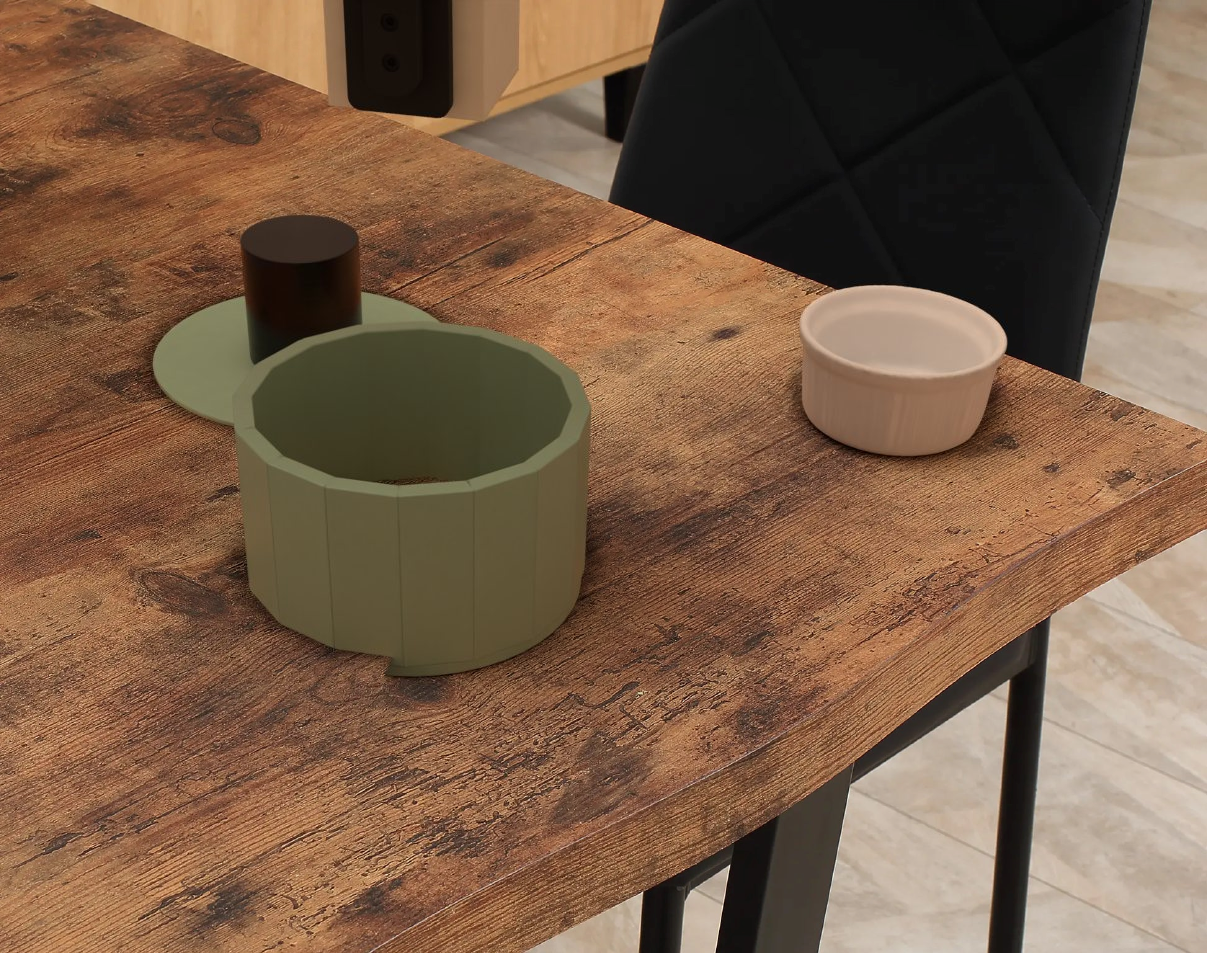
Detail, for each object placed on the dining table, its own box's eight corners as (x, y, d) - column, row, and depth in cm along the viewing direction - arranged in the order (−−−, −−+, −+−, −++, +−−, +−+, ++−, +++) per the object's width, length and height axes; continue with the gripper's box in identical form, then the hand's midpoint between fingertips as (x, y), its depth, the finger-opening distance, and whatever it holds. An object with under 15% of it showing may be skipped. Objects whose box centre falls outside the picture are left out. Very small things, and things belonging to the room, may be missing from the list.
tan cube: (328, 106, 54) (319, -60, 51) (373, 56, 58) (367, -101, 55) (484, 122, 53) (484, -45, 50) (519, 70, 57) (520, -87, 54)
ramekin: (753, 423, 76) (763, 334, 73) (846, 350, 82) (858, 265, 79) (938, 489, 72) (955, 397, 69) (1021, 407, 78) (1040, 320, 75)
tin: (199, 649, 61) (178, 466, 57) (310, 471, 71) (299, 304, 66) (543, 700, 59) (548, 516, 55) (607, 510, 69) (616, 343, 65)
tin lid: (105, 429, 73) (85, 285, 69) (219, 294, 84) (206, 164, 80) (413, 470, 71) (409, 325, 67) (488, 327, 82) (489, 195, 78)
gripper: (364, -619, 52) (384, -6, 63) (146, -619, 38) (219, 165, 49) (609, -606, 51) (587, 14, 62) (475, -602, 38) (477, 193, 48)
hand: (424, 74), depth 55 cm, fingers closed on tan cube, 5 cm apart
